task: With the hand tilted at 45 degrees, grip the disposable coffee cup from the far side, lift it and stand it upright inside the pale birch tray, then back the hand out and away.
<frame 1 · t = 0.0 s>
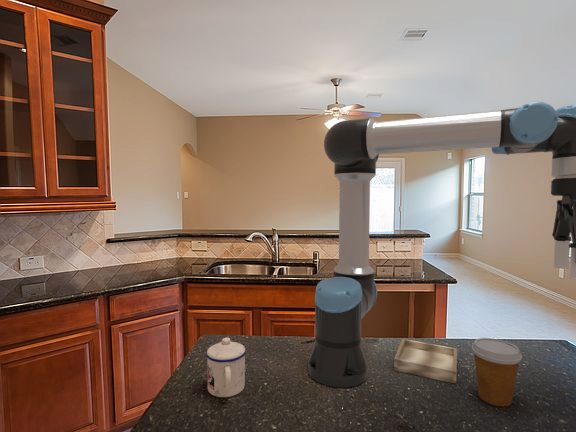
hand: (569, 273, 76), 28 cm above the table, tool pointing down, fingers open, 13 cm apart
teacup with lid: (226, 391, 79), on the table
birch tray: (426, 364, 92), on the table
disposable coffee cup: (494, 399, 76), on the table
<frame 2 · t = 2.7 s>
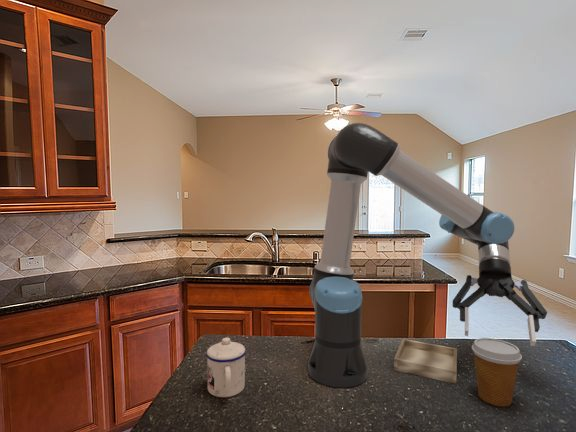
hand: (498, 338, 81), 11 cm above the table, tool tilted 45°, fingers open, 13 cm apart
nothing on the table moved.
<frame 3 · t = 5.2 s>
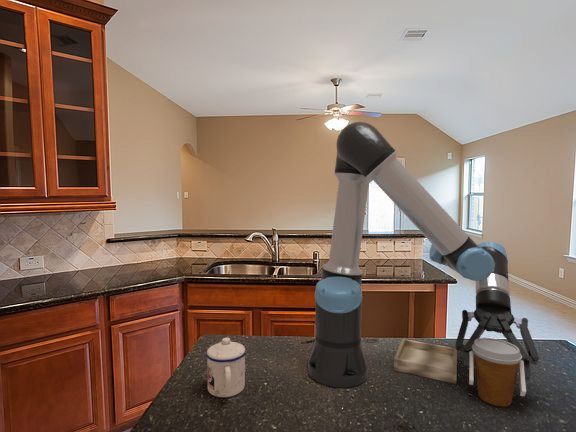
hand: (496, 387, 73), 4 cm above the table, tool tilted 45°, fingers closed on disposable coffee cup, 9 cm apart
disposable coffee cup: (494, 399, 76), on the table, touching gripper
everything else where it was.
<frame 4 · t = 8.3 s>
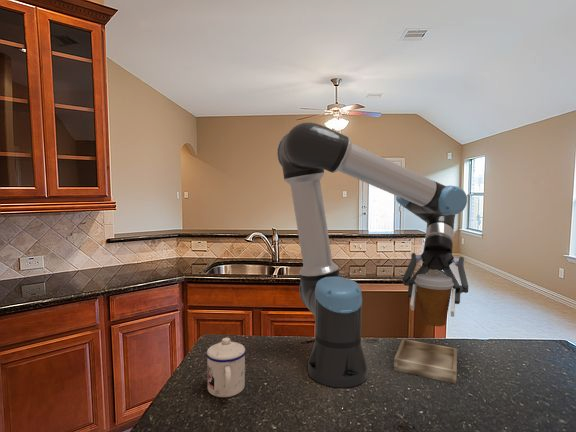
hand: (431, 310, 87), 16 cm above the table, tool tilted 45°, fingers closed on disposable coffee cup, 9 cm apart
disposable coffee cup: (432, 323, 90), point 12 cm above the table, touching gripper
everything else where it was.
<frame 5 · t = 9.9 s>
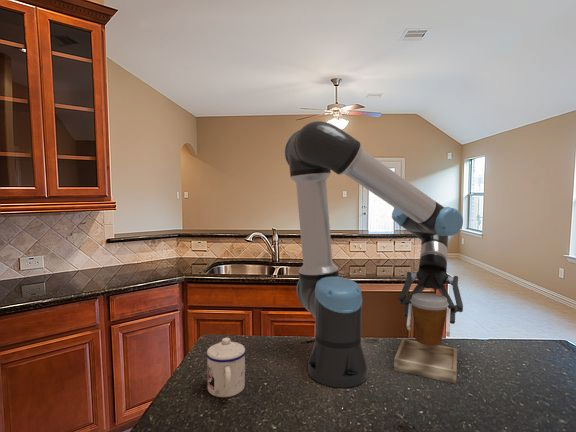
hand: (427, 330, 89), 10 cm above the table, tool tilted 45°, fingers closed on disposable coffee cup, 9 cm apart
disposable coffee cup: (428, 341, 92), point 6 cm above the table, touching gripper
everything else where it was.
when the fingers open (6 cm above the table, at t = 11.3 s): disposable coffee cup drops 1 cm, resting on birch tray.
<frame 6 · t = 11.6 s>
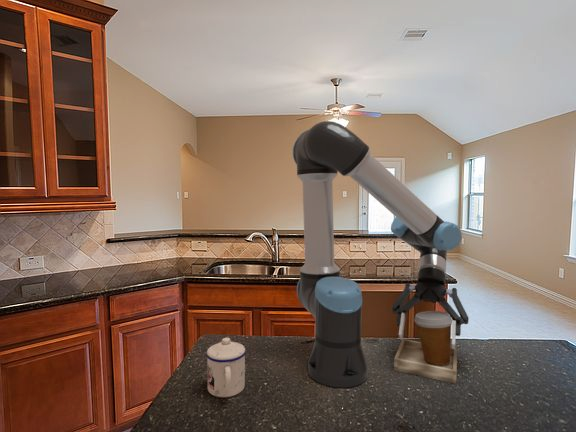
hand: (426, 341, 89), 7 cm above the table, tool tilted 45°, fingers open, 12 cm apart
disposable coffee cup: (437, 360, 91), point 1 cm above the table, touching birch tray, gripper
everything else where it was.
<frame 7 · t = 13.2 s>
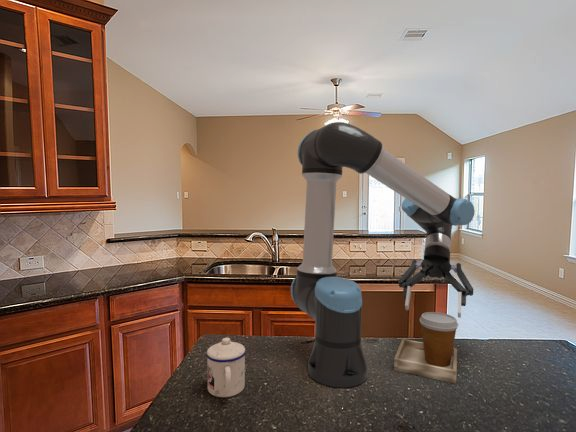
hand: (432, 311, 95), 13 cm above the table, tool tilted 45°, fingers open, 13 cm apart
disposable coffee cup: (437, 362, 92), point 1 cm above the table, touching birch tray
everything else where it was.
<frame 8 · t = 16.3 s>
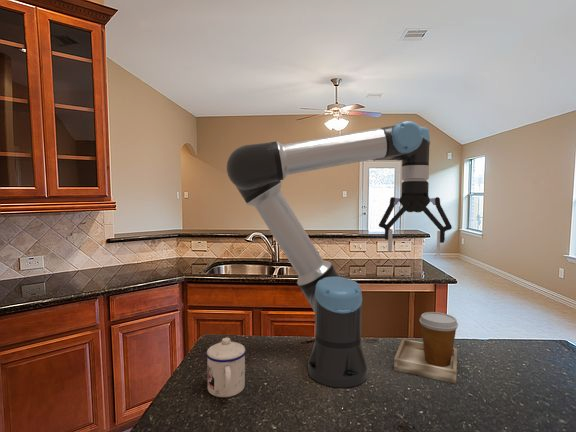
hand: (413, 252, 102), 29 cm above the table, tool pointing down, fingers open, 13 cm apart
nothing on the table moved.
at the end: disposable coffee cup 2.9 cm off-centre on the birch tray, point 0.8 cm above the birch tray's base; disposable coffee cup tilted 0°; the gripper is holding nothing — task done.
